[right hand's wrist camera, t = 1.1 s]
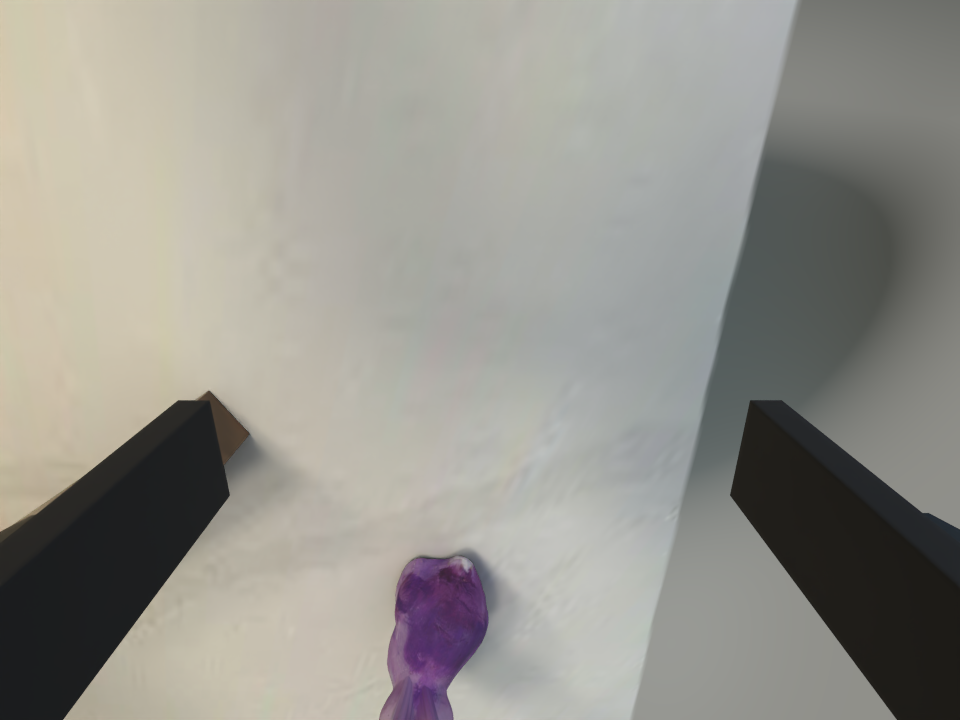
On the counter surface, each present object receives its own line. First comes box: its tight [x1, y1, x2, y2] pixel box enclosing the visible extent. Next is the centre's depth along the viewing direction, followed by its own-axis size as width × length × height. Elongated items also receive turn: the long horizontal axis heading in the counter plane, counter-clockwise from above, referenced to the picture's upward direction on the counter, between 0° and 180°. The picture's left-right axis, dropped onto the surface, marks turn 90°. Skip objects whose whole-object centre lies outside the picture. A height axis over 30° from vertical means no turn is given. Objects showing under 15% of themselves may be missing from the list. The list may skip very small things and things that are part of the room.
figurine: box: [379, 556, 488, 720], centre depth 39 cm, size 9×10×15 cm
